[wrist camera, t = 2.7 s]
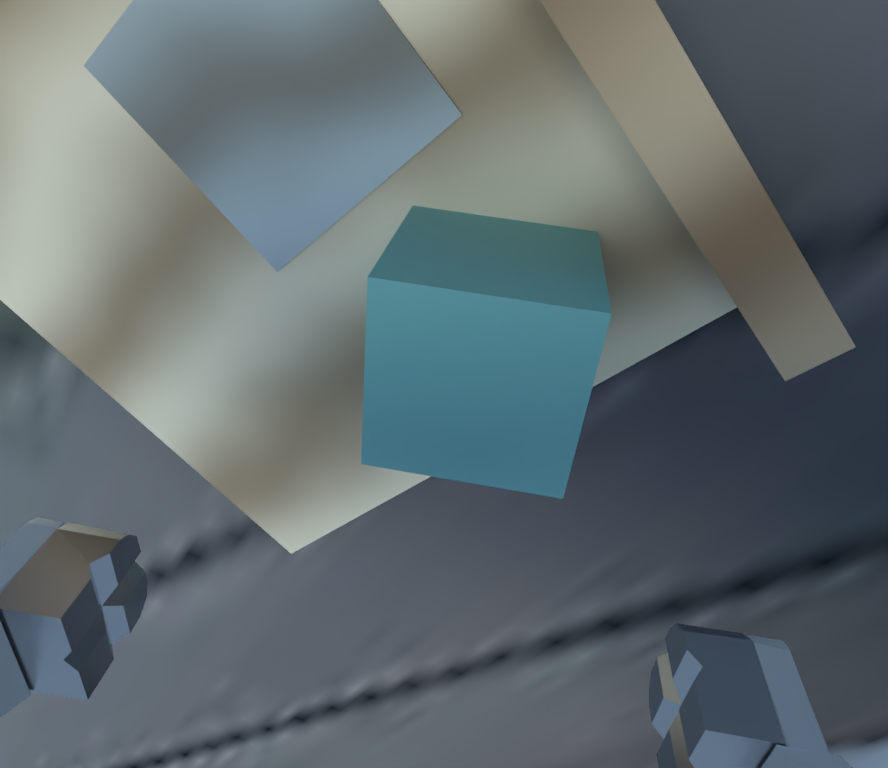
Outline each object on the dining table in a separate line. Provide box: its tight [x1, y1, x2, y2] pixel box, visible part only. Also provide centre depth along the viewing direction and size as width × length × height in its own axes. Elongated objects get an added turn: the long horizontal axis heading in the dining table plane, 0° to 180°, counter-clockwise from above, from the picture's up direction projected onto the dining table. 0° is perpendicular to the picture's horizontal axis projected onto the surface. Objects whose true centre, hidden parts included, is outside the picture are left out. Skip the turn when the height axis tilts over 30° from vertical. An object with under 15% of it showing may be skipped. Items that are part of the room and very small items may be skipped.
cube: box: [361, 206, 612, 499], centre depth 17 cm, size 5×5×5 cm
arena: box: [0, 0, 856, 553], centre depth 17 cm, size 20×20×5 cm
